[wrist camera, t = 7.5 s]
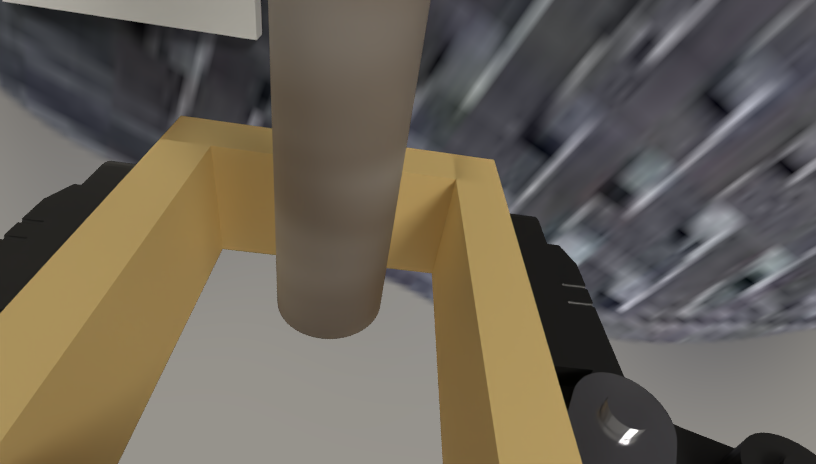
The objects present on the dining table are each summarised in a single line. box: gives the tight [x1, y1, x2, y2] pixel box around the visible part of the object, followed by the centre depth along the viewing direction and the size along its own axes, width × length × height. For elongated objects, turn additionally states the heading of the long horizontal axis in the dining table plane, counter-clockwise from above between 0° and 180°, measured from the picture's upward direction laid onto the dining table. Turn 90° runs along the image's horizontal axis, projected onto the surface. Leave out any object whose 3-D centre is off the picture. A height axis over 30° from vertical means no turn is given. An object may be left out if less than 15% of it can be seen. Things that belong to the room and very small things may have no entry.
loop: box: [0, 116, 582, 464], centre depth 7 cm, size 6×2×8 cm, turn 81°
